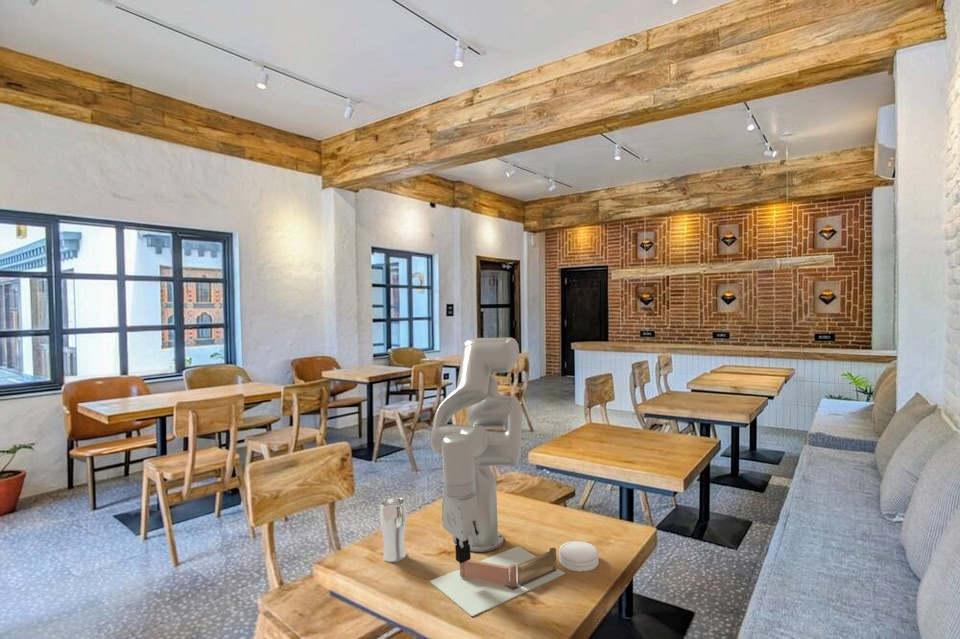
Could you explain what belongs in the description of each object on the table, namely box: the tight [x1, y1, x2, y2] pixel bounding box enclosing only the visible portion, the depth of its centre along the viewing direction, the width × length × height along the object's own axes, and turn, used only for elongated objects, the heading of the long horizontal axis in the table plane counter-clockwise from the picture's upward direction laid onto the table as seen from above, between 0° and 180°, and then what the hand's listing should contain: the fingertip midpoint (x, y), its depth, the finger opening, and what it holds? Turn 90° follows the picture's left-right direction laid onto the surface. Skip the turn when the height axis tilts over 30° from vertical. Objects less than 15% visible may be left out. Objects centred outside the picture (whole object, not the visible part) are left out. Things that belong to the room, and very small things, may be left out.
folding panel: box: [459, 559, 517, 587], centre depth 125 cm, size 15×2×5 cm, turn 67°
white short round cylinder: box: [558, 540, 600, 573], centre depth 134 cm, size 10×10×4 cm
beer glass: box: [379, 497, 407, 563], centre depth 140 cm, size 7×7×15 cm
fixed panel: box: [517, 547, 558, 584], centre depth 127 cm, size 2×12×5 cm, turn 126°
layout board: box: [429, 545, 566, 617], centre depth 128 cm, size 18×28×1 cm, turn 126°
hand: (463, 559), depth 125 cm, fingers closed
